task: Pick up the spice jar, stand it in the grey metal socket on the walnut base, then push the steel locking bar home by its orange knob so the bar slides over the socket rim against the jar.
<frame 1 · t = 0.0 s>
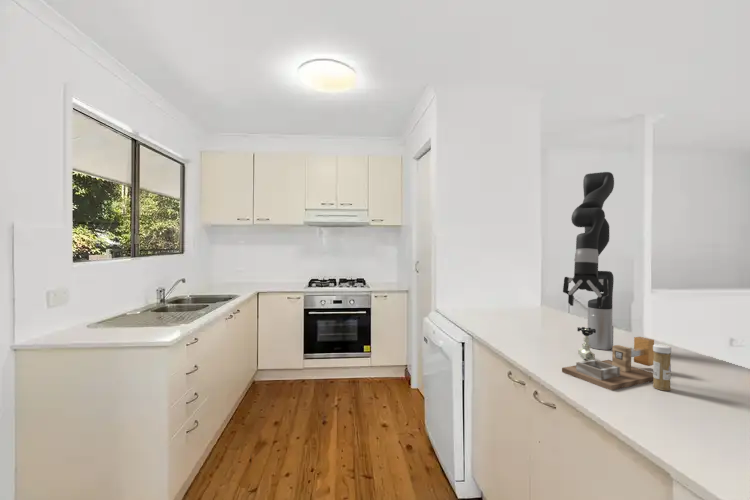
hand: (584, 306, 136), 22 cm above the table, tool pointing down, fingers open, 8 cm apart
valve: (586, 359, 148), on the table
socket base: (609, 375, 129), on the table
spice jar: (661, 389, 118), on the table
locking bar: (632, 352, 134), point 6 cm above the table, slide at 0.0 cm
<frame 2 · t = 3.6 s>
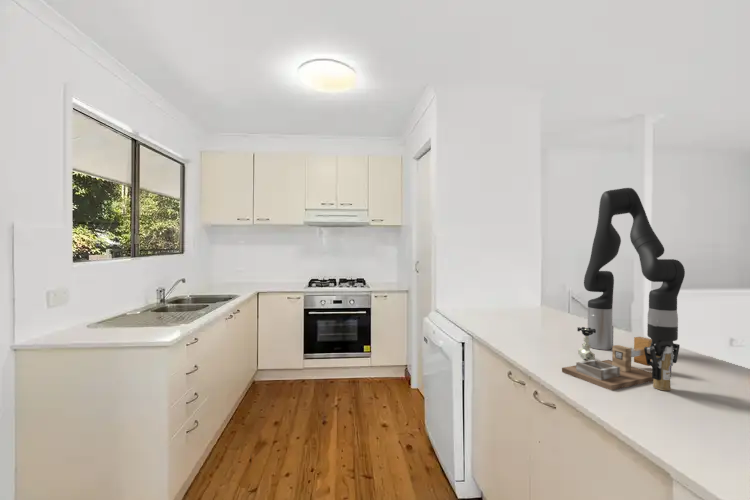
hand: (661, 377, 118), 3 cm above the table, tool pointing down, fingers closed on spice jar, 4 cm apart
spice jar: (661, 389, 118), on the table, touching gripper
everything else where it was.
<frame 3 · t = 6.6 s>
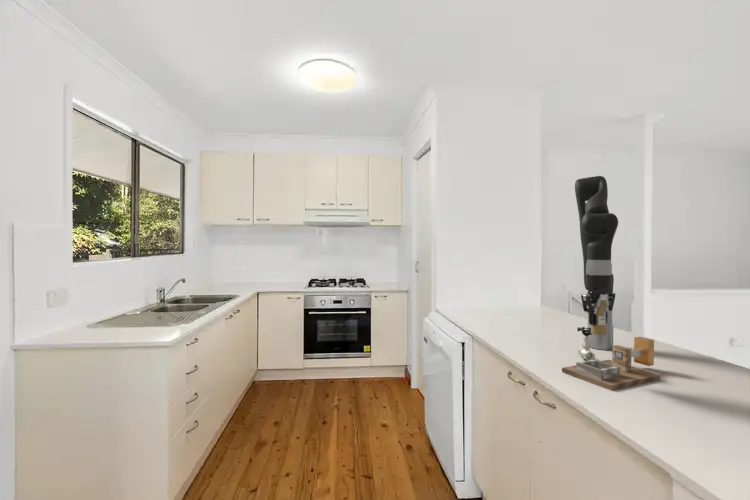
hand: (598, 324, 127), 18 cm above the table, tool pointing down, fingers closed on spice jar, 4 cm apart
spice jar: (598, 334, 127), point 15 cm above the table, touching gripper
everything else where it was.
when the fingers open (6 cm above the table, at t = 9.7 s): spice jar stays where it is, resting on socket base.
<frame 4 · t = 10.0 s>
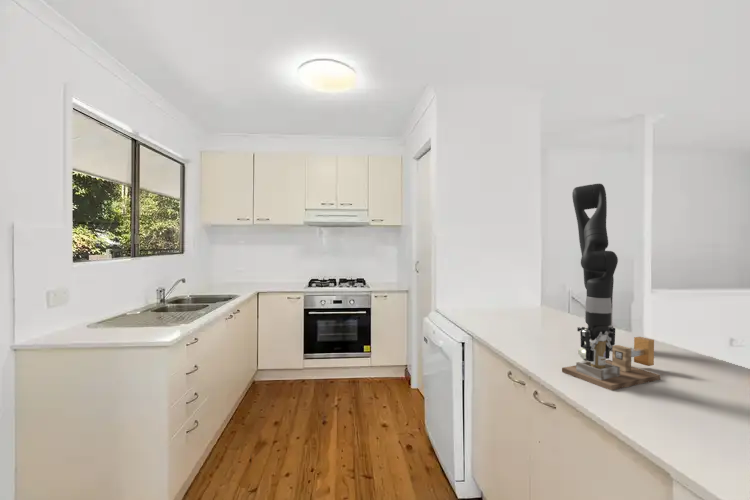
hand: (597, 359, 127), 6 cm above the table, tool pointing down, fingers open, 7 cm apart
spice jar: (597, 374, 127), point 1 cm above the table, touching socket base
everything else where it was.
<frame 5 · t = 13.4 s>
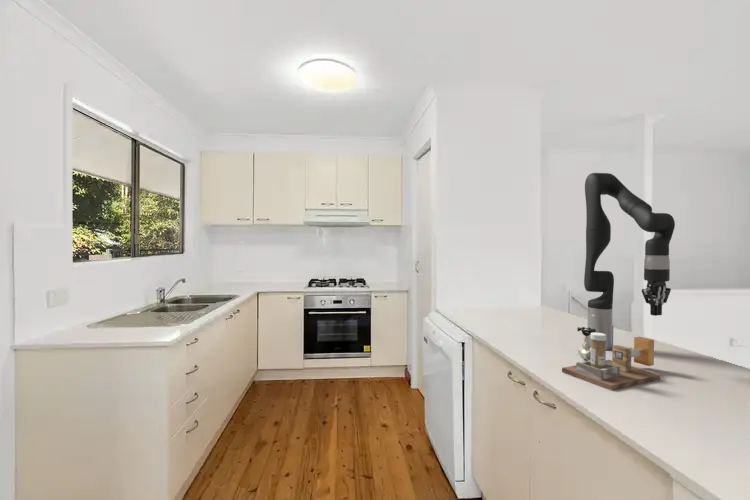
hand: (656, 314, 139), 19 cm above the table, tool pointing down, fingers closed
nothing on the table moved.
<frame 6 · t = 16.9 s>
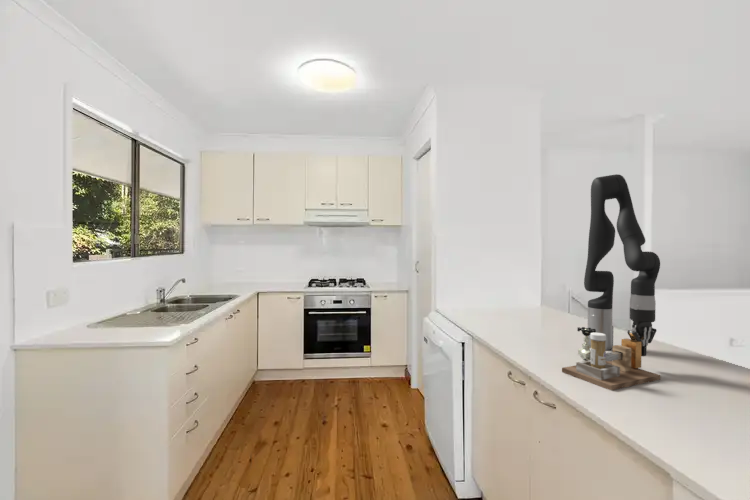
hand: (641, 355, 136), 5 cm above the table, tool pointing down, fingers closed
locking bar: (619, 355, 131), point 7 cm above the table, slide at 6.9 cm, touching hand
everything else where it was.
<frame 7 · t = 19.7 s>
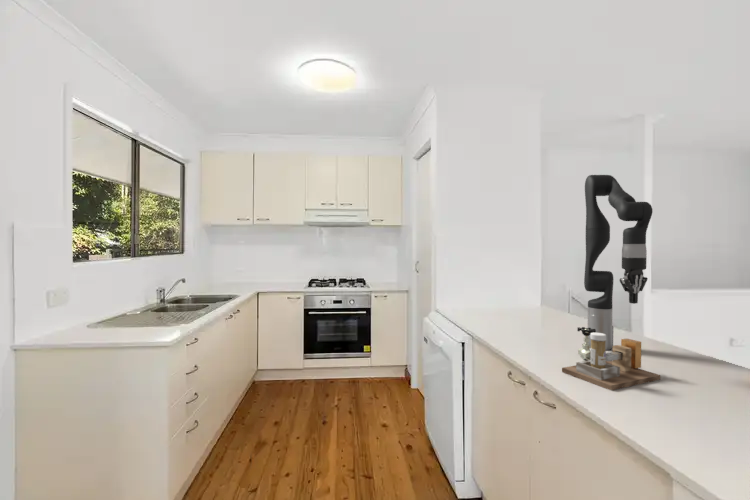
hand: (633, 303, 140), 23 cm above the table, tool pointing down, fingers closed
locking bar: (619, 355, 131), point 7 cm above the table, slide at 7.0 cm
everything else where it was.
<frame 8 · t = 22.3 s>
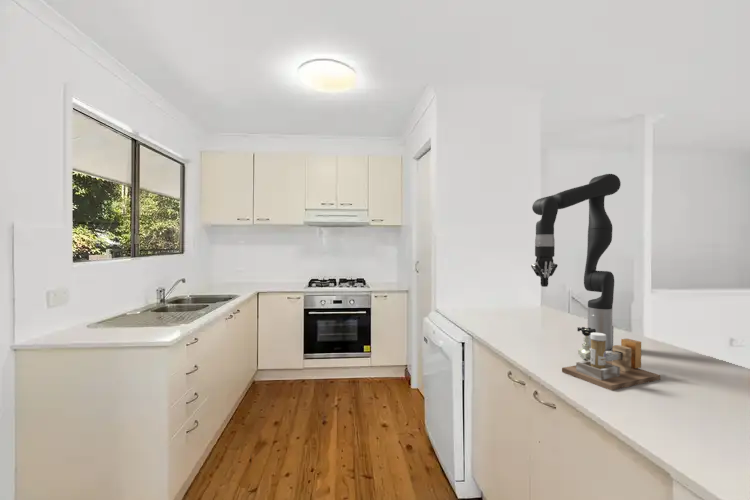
hand: (544, 286, 160), 27 cm above the table, tool pointing down, fingers closed
nothing on the table moved.
at the end: spice jar 0.2 cm from the target spot, point 1.3 cm above the table; spice jar tilted 0°; locking bar slide at 7.0 cm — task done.
